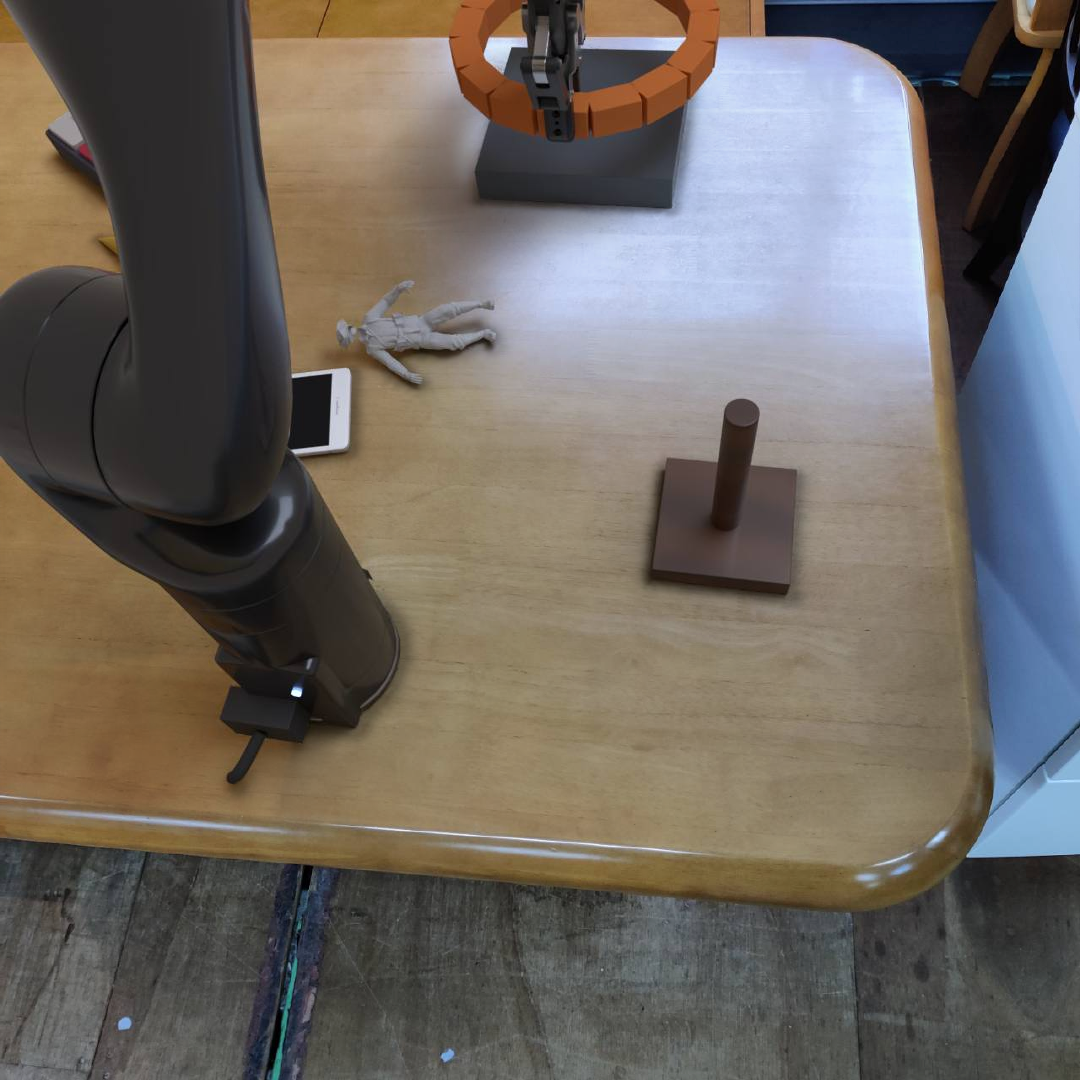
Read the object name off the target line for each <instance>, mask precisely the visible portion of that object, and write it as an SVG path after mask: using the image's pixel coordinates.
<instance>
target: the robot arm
mask: <svg viewBox="0 0 1080 1080" xmlns="http://www.w3.org/2000/svg"><path fill="white" fill-rule="evenodd" d="M1 2H2V4H3V5H4V7H5V8H6V10H7V12H8V14H9V15H10V16H11V18H12V20H13V22H14V23H15V25H16V26H17V28H18V29H19V30H20V32H21V34H22V36H23V38H24V39H25V41H26V42H27V44H28V45H29V47H30V49H31V50H32V51H33V53H34V55H35V57H36V58H37V59H38V61H39V63H40V64H41V66H42V67H43V69H44V71H45V73H46V74H47V76H48V77H49V79H50V81H51V82H52V84H53V86H54V87H55V89H56V91H57V92H58V94H59V96H60V97H61V99H62V101H63V102H64V104H65V106H66V108H67V110H68V111H70V113H71V115H72V117H73V119H74V120H75V122H76V125H77V127H78V129H79V131H80V133H81V135H82V138H83V140H84V142H85V144H86V146H87V149H88V151H89V153H90V155H91V158H92V161H93V163H94V166H95V169H96V172H97V174H98V177H99V180H100V182H101V185H102V188H103V189H102V188H101V189H102V192H103V196H104V199H105V203H106V206H107V210H108V214H109V217H110V222H111V226H112V230H113V236H115V241H116V245H117V250H118V255H117V256H118V260H119V266H120V272H121V273H119V272H115V271H110V270H105V269H102V268H97V267H93V266H87V265H86V266H84V265H73V264H71V265H69V264H68V265H58V266H52V267H51V266H50V267H48V268H43V269H40V270H37V271H34V272H31V273H29V274H27V275H25V276H23V277H22V278H20V279H18V280H16V282H14V283H12V284H11V285H10V286H8V288H7V289H5V290H4V291H3V292H2V293H1V294H0V457H1V459H2V460H3V461H4V462H5V464H6V465H7V466H8V467H9V468H10V469H11V471H13V473H15V475H16V476H17V477H19V479H20V480H22V482H23V483H24V484H25V485H26V486H28V488H30V489H31V491H33V492H34V493H35V494H36V495H37V496H39V497H40V499H42V500H43V502H45V503H47V505H48V506H50V507H51V508H52V509H53V510H55V512H57V513H58V514H59V515H60V516H61V517H62V518H63V519H65V520H66V521H67V522H68V523H69V524H70V525H72V526H73V527H74V528H75V529H76V530H77V531H79V532H80V533H81V534H82V535H83V536H84V537H85V538H86V539H88V540H89V541H90V542H92V543H93V544H94V545H95V546H96V547H97V548H99V549H100V550H101V551H102V552H104V553H105V554H106V555H107V556H108V557H110V558H112V559H113V560H115V561H116V562H118V563H120V564H121V565H123V566H125V567H126V568H128V569H130V570H132V571H134V572H135V573H137V574H140V575H141V576H143V577H145V578H147V579H149V580H151V581H152V582H154V583H156V584H157V585H159V586H160V587H161V588H162V589H163V590H164V591H165V592H166V593H167V594H168V595H169V596H170V597H171V598H172V599H173V600H174V601H175V602H176V603H177V604H178V605H179V606H180V607H181V608H182V609H183V610H184V611H185V612H186V613H187V614H188V615H189V616H190V617H191V618H192V619H193V620H194V621H195V622H196V624H197V625H199V626H200V627H201V628H202V629H203V630H204V631H205V632H206V633H207V634H208V635H209V637H211V638H212V639H213V640H214V641H215V642H216V643H217V644H218V647H217V649H216V652H215V655H214V662H215V664H216V665H217V666H218V667H219V668H221V669H222V671H224V672H225V673H226V674H227V675H228V676H229V677H230V678H231V679H232V680H233V681H234V682H235V683H236V684H237V685H230V686H229V689H228V692H227V694H226V697H225V701H224V704H223V706H222V709H221V713H220V715H219V718H218V720H219V721H221V722H222V724H224V725H225V726H226V727H228V728H229V729H230V730H231V731H232V732H234V733H235V734H236V735H242V736H249V737H250V739H249V741H248V743H247V744H246V746H245V748H244V750H243V752H242V754H241V755H240V757H239V759H238V761H237V763H236V764H235V766H234V767H233V769H232V770H230V771H229V772H228V773H226V777H225V779H226V782H227V783H228V784H229V785H236V784H237V783H239V782H240V781H242V780H243V779H244V778H245V776H246V775H247V774H248V772H249V770H250V769H251V767H252V765H253V764H254V762H255V760H256V758H257V756H258V754H259V752H260V751H261V748H262V746H263V745H264V743H265V740H266V739H268V740H275V741H281V742H288V743H294V744H301V745H303V744H304V742H305V739H306V736H307V732H308V729H309V725H310V723H315V724H329V725H337V726H343V727H350V728H355V727H357V726H358V725H359V723H360V719H361V716H362V714H363V712H364V711H365V710H366V709H368V708H369V707H370V706H372V705H373V704H374V703H375V702H376V701H377V700H378V699H379V698H380V697H381V696H382V695H383V694H384V692H385V691H386V690H387V689H388V687H389V686H390V684H391V683H392V680H393V679H394V677H395V674H396V672H397V670H398V666H399V662H400V656H401V639H400V638H401V637H400V633H399V631H398V628H397V625H396V622H395V621H394V619H393V617H392V615H391V614H390V612H389V611H388V609H387V608H386V607H385V605H383V603H382V601H381V599H380V597H379V595H378V594H377V592H376V590H375V588H374V587H373V585H372V583H371V581H372V582H373V581H374V578H373V576H372V575H371V573H370V571H369V569H368V570H367V569H365V568H363V566H362V565H361V564H360V562H359V560H358V558H357V557H356V554H355V553H354V551H353V549H352V548H351V546H350V544H349V542H348V541H347V538H346V537H345V535H344V534H343V532H342V530H341V527H340V526H339V524H338V523H337V521H336V519H335V517H334V516H333V514H332V511H331V510H330V508H329V506H328V504H327V503H326V501H325V499H324V497H323V496H322V494H321V492H320V491H319V489H318V486H317V484H316V483H315V481H314V479H313V478H312V476H311V474H310V472H309V471H308V469H307V468H306V466H305V464H304V463H303V462H302V461H301V458H300V457H297V456H296V455H295V453H294V452H292V451H291V450H290V449H289V448H288V447H287V444H288V439H289V435H290V425H291V415H292V401H293V396H292V374H293V371H292V356H291V355H292V354H291V345H290V338H289V337H290V336H289V328H288V321H287V313H286V307H285V299H284V293H283V286H282V279H281V273H280V266H279V259H278V252H277V247H276V246H277V245H276V240H275V239H276V238H275V233H274V228H273V227H274V226H273V220H272V211H271V204H270V199H269V193H268V185H267V179H266V171H265V163H264V156H263V148H262V147H263V146H262V138H261V137H262V136H261V125H260V118H259V106H258V105H259V104H258V96H257V95H258V93H257V85H256V84H257V83H256V72H255V59H254V58H255V57H254V45H253V31H252V18H251V7H250V6H251V4H250V0H1ZM520 16H521V17H520V18H521V28H522V31H523V32H524V34H525V35H526V45H527V46H526V47H528V56H522V60H521V62H520V70H521V73H522V76H523V79H524V82H525V85H526V88H527V91H528V94H529V96H530V99H531V102H532V105H533V108H534V110H541V109H543V111H544V120H545V130H546V138H547V139H548V140H549V141H551V142H572V141H573V140H574V137H575V118H574V103H573V97H574V92H581V91H580V75H579V69H576V68H580V67H581V63H582V60H583V57H582V56H581V49H582V47H581V46H584V45H585V44H584V43H585V41H586V36H587V35H586V29H587V28H586V27H587V26H586V17H585V16H586V0H528V2H523V3H522V8H521V9H520Z"/></svg>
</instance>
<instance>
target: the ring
mask: <svg viewBox="0 0 1080 1080" xmlns="http://www.w3.org/2000/svg"><path fill="white" fill-rule="evenodd" d="M654 1H655V2H656V3H657V4H659V5H660V6H662V7H663V8H664V9H666V10H668V11H669V12H670V13H671V14H673V15H675V16H676V17H677V19H678V20H679V23H680V24H681V27H682V28H683V30H684V32H685V34H686V37H685V40H684V41H683V42H682V43H681V44H680V45H679V46H678V48H677V49H676V50H674V51H675V53H674V54H673V55H672V56H671V57H670V59H669V60H668V61H667V62H666V63H665V64H663V65H661V66H660V67H658V68H656V69H654V70H652V71H651V72H649V73H647V74H645V75H643V76H641V77H640V78H638V79H636V80H634V81H632V82H631V83H627V84H622V85H618V86H614V87H609V88H605V89H601V90H596V91H592V92H574V97H573V103H574V118H575V137H574V139H588V137H589V133H590V130H591V132H592V135H593V137H594V138H598V137H602V136H607V135H611V134H615V133H619V132H624V131H628V130H632V129H637V128H641V127H642V122H644V123H645V124H646V125H649V124H651V123H653V122H654V121H656V120H658V119H660V118H661V117H663V116H665V115H667V114H668V113H670V112H672V111H674V110H676V109H677V108H679V107H681V106H683V105H684V104H686V99H687V100H688V101H690V100H691V99H692V98H693V97H695V96H694V95H695V94H696V93H697V92H698V91H699V90H700V88H701V87H702V86H703V84H704V83H705V82H706V81H707V80H708V78H709V77H710V76H711V74H712V73H713V70H714V69H715V66H716V60H717V51H718V46H719V45H718V44H719V39H720V38H719V37H720V23H721V10H720V6H719V4H718V2H717V0H654ZM523 2H528V0H464V1H462V2H461V4H460V7H458V8H457V11H456V14H455V17H454V20H453V22H452V25H451V29H450V32H449V34H448V44H449V45H448V46H449V49H450V55H451V60H452V66H453V70H454V72H455V76H456V80H457V83H458V87H459V90H460V93H461V95H463V98H464V99H465V100H466V101H467V102H469V103H470V104H471V105H472V106H473V107H474V108H475V109H476V110H477V111H478V112H479V113H480V114H481V115H483V116H484V117H485V118H487V119H488V121H490V120H491V119H493V122H494V123H496V124H499V125H502V126H505V127H508V128H511V129H514V130H517V131H519V132H522V133H525V134H528V135H531V136H535V135H536V134H537V133H538V132H539V136H540V137H546V130H545V120H544V111H543V109H541V110H534V108H533V105H532V102H531V99H530V96H529V94H528V91H527V88H526V85H525V84H522V83H519V82H516V81H513V80H509V79H508V78H506V77H505V76H504V75H503V74H504V73H502V72H500V71H499V69H497V68H496V67H495V66H494V65H493V64H491V63H490V62H489V61H488V60H487V59H486V58H485V52H486V48H487V46H488V42H489V39H490V36H491V35H493V33H495V31H497V29H498V28H499V27H500V26H501V25H502V24H503V23H504V22H505V21H506V20H507V19H508V18H509V17H510V16H511V15H512V14H514V13H517V12H518V11H520V10H521V8H522V3H523Z"/></svg>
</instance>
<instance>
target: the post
mask: <svg viewBox="0 0 1080 1080" xmlns="http://www.w3.org/2000/svg"><path fill="white" fill-rule="evenodd" d="M760 416H761V411H760V408H759V406H758V405H757V404H756V403H755V402H754V401H753V400H751V399H747V398H742V397H741V398H735V399H732V400H731V401H729V402H728V403H727V404H726V405H725V407H724V410H723V416H722V417H723V418H722V425H721V434H720V442H719V449H718V450H719V451H718V458H717V461H709V460H708V461H707V460H699V459H687V458H676V457H666V461H665V468H664V476H663V484H662V490H661V491H662V492H661V497H660V498H661V499H660V505H659V506H660V507H659V514H658V522H657V528H656V536H655V543H654V551H653V557H652V566H651V579H652V580H658V581H667V582H676V583H684V584H686V583H687V584H693V585H702V586H712V587H721V588H729V589H737V590H746V591H747V590H748V591H755V592H765V593H773V594H781V595H788V593H789V590H790V587H791V582H792V581H791V580H792V579H791V578H792V563H793V561H792V560H793V544H794V529H795V509H796V491H797V476H798V475H797V474H798V473H797V472H798V471H797V469H795V468H794V469H793V468H783V467H773V466H764V465H763V466H762V465H752V461H753V455H754V450H755V449H754V448H755V443H756V437H757V432H758V427H759V421H760Z"/></svg>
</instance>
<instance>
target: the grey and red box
mask: <svg viewBox="0 0 1080 1080" xmlns="http://www.w3.org/2000/svg"><path fill="white" fill-rule="evenodd" d="M47 128H48V129H46V130H45V136H46V137H47V139H48V140H49V142H50V143H51V144H52V146H53V147H54V149H55V150H56V151H57V153H58V155H60V157H61V158H62V159H63V160H64V161H66V162H67V163H68V164H69V165H71V166H72V167H74V168H75V170H77V171H79V172H80V173H81V174H83V176H85V177H86V178H88V179H89V180H91V181H92V182H93V183H94V184H95V185H97V186H98V187H99V188H101V189H102V190H103V188H102V185H101V182H100V180H99V177H98V174H97V172H96V169H95V166H94V163H93V161H92V158H91V155H90V153H89V151H88V149H87V146H86V144H85V142H84V140H83V138H82V135H81V133H80V131H79V129H78V127H77V125H76V122H75V120H74V119H73V117H72V115H71V113H70V111H69V110H67V111H65V112H64V113H63V114H62V115H60V116H59V117H57V118H56V119H55V120H54V121H52V122H51V123H49V124H48V125H47Z"/></svg>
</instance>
